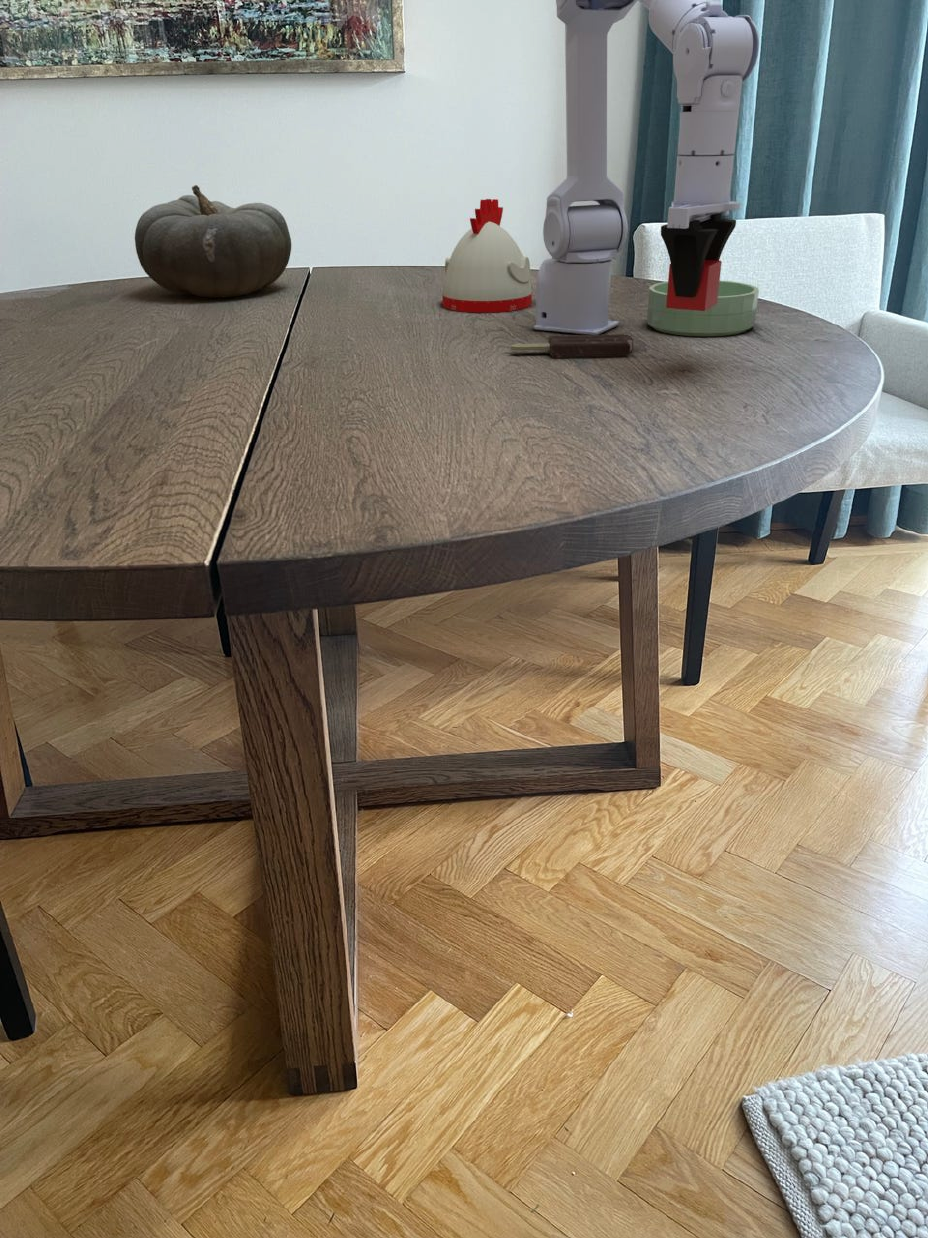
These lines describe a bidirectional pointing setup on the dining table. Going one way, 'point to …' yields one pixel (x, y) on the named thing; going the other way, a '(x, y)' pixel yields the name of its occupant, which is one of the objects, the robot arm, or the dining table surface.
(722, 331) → the bowl
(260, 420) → the dining table surface
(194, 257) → the gourd
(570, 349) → the ice cream bar
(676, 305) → the red cube
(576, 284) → the robot arm
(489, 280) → the kitchen timer
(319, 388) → the dining table surface
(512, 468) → the dining table surface
